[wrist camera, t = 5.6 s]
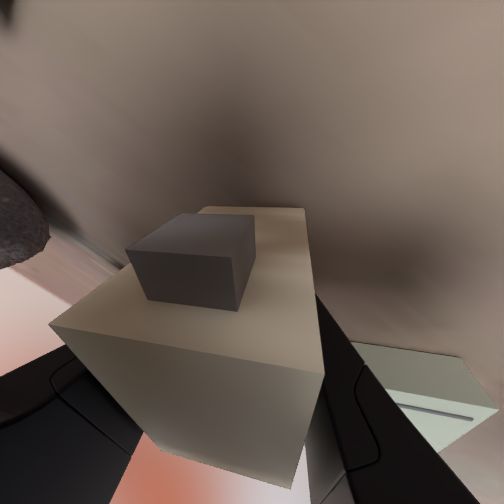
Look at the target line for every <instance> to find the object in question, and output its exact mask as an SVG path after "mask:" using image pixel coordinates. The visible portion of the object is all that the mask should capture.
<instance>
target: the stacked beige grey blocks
mask: <svg viewBox="0 0 504 504" xmlns="http://www.w3.org/2000/svg"><path fill="white" fill-rule="evenodd" d="M125 250H126V253H127V255H128V257H129V260H130V262H131V263H129V264H128V265H127V266H125V267H124V268H123V269H121V270H120V271H119V272H117V273H116V274H115V275H113V276H112V277H111V278H109V279H108V280H107V281H105V282H104V283H102V284H101V285H100V286H98V287H97V288H96V289H94V290H93V291H92V292H90V293H89V294H88V295H86V296H85V297H84V298H82V299H81V300H80V301H78V302H77V303H76V304H74V305H73V306H72V307H70V308H69V309H68V310H67V311H65V312H64V313H62V314H61V315H60V316H58V317H57V318H56V319H54V320H53V321H52V322H50V323H49V324H48V325H49V326H50V327H51V328H52V329H53V330H54V332H55V333H56V334H57V335H58V336H59V337H60V338H61V339H62V340H63V342H64V343H65V344H66V345H67V346H68V347H69V348H70V349H71V351H72V352H73V353H74V354H75V355H76V356H77V357H78V358H79V360H80V361H81V362H82V363H83V364H84V365H85V366H86V367H87V368H88V370H89V371H90V372H91V373H92V374H93V375H94V376H95V377H96V379H97V380H98V381H99V382H100V383H101V384H102V385H103V386H104V387H105V389H106V390H107V391H108V392H109V393H110V394H111V395H112V396H113V398H114V399H115V400H116V401H117V402H118V403H119V404H120V405H121V407H122V408H123V409H124V410H125V411H126V412H127V413H128V414H129V415H130V417H131V418H132V419H133V420H134V421H135V422H136V423H137V424H138V426H139V427H140V428H141V429H142V430H143V431H144V432H145V433H146V434H147V436H148V437H149V438H150V439H151V440H152V441H153V442H154V443H155V445H156V446H157V447H158V448H159V449H160V450H161V451H163V452H167V453H170V454H174V455H177V456H180V457H183V458H187V459H190V460H194V461H197V462H200V463H203V464H207V465H210V466H214V467H217V468H220V469H223V470H227V471H230V472H234V473H237V474H240V475H243V476H247V477H250V478H253V479H257V480H260V481H263V482H267V483H270V484H273V485H277V486H280V487H283V488H287V489H291V486H292V482H293V479H294V476H295V472H296V469H297V466H298V462H299V459H300V456H301V452H302V449H303V445H304V442H305V439H306V435H307V432H308V429H309V425H310V422H311V419H312V415H313V412H314V408H315V405H316V402H317V398H318V395H319V392H320V388H321V385H322V381H323V378H324V375H325V372H324V364H323V356H322V348H321V339H320V331H319V323H318V315H317V307H316V299H315V291H314V283H313V275H312V267H311V259H310V250H309V242H308V234H307V226H306V218H305V210H304V208H274V207H226V206H206V207H204V208H203V209H202V210H200V211H199V212H198V213H181V214H179V215H178V216H176V217H175V218H173V219H172V220H170V221H168V222H167V223H165V224H164V225H162V226H161V227H159V228H158V229H156V230H154V231H153V232H151V233H150V234H148V235H147V236H145V237H144V238H142V239H141V240H139V241H137V242H136V243H134V244H133V245H131V246H130V247H128V248H127V249H125Z"/></svg>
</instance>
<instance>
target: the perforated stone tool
mask: <svg viewBox="0 0 504 504" xmlns="http://www.w3.org/2000/svg"><path fill="white" fill-rule="evenodd" d="M49 235H50V234H49V223H48V221H47V219H46V218H45V216H44V215H43V214H42V212H41V211H40V209H39V207H38V206H37V204H36V203H35V202H34V201H33V200H32V199H31V198H30V197H29V195H28V194H27V193H26V192H25V191H24V190H23V189H22V188H21V187H20V186H19V185H18V184H17V183H15V182H14V181H13V180H12V179H11V178H10V177H8V175H6V174H5V173H3V172H2V171H1V170H0V269H3V268H6V267H10V266H12V265H15V264H16V263H22V262H23V261H25V260H28V259H29V258H31V257H33V256H34V255H36V254H37V253H39V252H42V251H43V250H44V248H45V246H46V243H47V242H48V240H49V239H50V238H51V236H49Z"/></svg>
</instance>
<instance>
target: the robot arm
mask: <svg viewBox="0 0 504 504" xmlns="http://www.w3.org/2000/svg"><path fill="white" fill-rule="evenodd" d="M315 299H316V307H317V315H318V323H319V331H320V339H321V348H322V356H323V364H324V372H325V375H324V378H323V381H322V385H321V388H320V392H319V395H318V398H317V402H316V405H315V408H314V412H313V415H312V419H311V422H310V425H309V429H308V432H307V435H306V439H305V448H306V458H307V468H308V479H309V489H310V500H311V504H480V503H479V502H478V500H477V499H476V498H475V497H474V496H473V495H472V493H471V492H470V491H469V490H468V489H467V487H466V486H465V485H464V484H463V483H462V482H461V480H460V479H459V478H458V477H457V476H456V474H455V473H454V472H453V471H452V470H451V469H450V467H449V466H448V465H447V464H446V463H445V461H444V460H443V459H442V458H441V457H440V456H439V454H438V453H437V452H436V451H435V450H434V448H433V447H432V446H431V445H430V444H429V442H428V441H427V440H426V439H425V438H424V437H423V435H422V434H421V433H420V432H419V431H418V429H417V428H416V427H415V426H414V425H413V423H412V422H411V421H410V420H409V419H408V417H407V416H406V415H405V414H404V412H403V411H402V410H401V409H400V408H399V406H398V405H397V404H396V403H395V401H394V400H393V399H392V398H391V396H390V395H389V394H388V392H387V391H386V390H385V388H384V387H383V386H382V384H381V383H380V382H379V380H378V379H377V378H376V376H375V375H374V374H373V372H372V371H371V369H370V368H369V367H368V365H366V364H365V361H364V360H363V359H362V357H361V356H360V354H359V353H358V352H357V350H356V349H355V347H354V346H353V345H352V343H351V342H350V341H349V339H348V338H347V336H346V335H345V334H344V332H343V331H342V329H341V328H340V327H339V325H338V324H337V323H336V321H335V320H334V318H333V317H332V316H331V314H330V313H329V311H328V310H327V309H326V307H325V306H324V305H323V303H322V302H321V300H320V299H319V298H318V296H317V295H316V293H315ZM143 432H144V431H143V430H142V429H141V428H140V427H139V426H138V424H137V423H136V422H135V421H134V420H133V419H132V418H131V417H130V415H129V414H128V413H127V412H126V411H125V410H124V409H123V408H122V407H121V405H120V404H119V403H118V402H117V401H116V400H115V399H114V398H113V396H112V395H111V394H110V393H109V392H108V391H107V390H106V389H105V387H104V386H103V385H102V384H101V383H100V382H99V381H98V380H97V379H96V377H95V376H94V375H93V374H92V373H91V372H90V371H89V370H88V368H87V367H86V366H85V365H84V364H83V363H82V362H81V361H80V360H79V358H78V357H77V356H76V355H75V354H74V353H73V352H72V351H71V349H70V348H69V347H68V346H67V345H66V344H65V345H63V346H61V347H59V348H57V349H55V350H53V351H51V352H49V353H47V354H45V355H43V356H41V357H39V358H37V359H35V360H33V361H31V362H29V363H27V364H25V365H23V366H21V367H19V368H17V369H15V370H13V371H11V372H9V373H7V374H5V375H3V376H1V377H0V504H109V503H110V501H111V499H112V497H113V495H114V493H115V491H116V489H117V486H118V484H119V482H120V480H121V478H122V476H123V474H124V472H125V470H126V468H127V466H128V464H129V462H130V459H131V456H132V455H133V453H134V451H135V449H136V446H137V445H138V443H139V440H140V438H141V436H142V434H143Z"/></svg>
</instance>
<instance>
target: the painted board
mask: <svg viewBox="0 0 504 504" xmlns="http://www.w3.org/2000/svg"><path fill="white" fill-rule="evenodd" d="M351 343H352V345H353V346H354V347H355V349H356V350H357V352H358V353H359V354H360V356H361V357H362V359H363V360H364V361H365V364H366V365H368V367H369V368H370V369H371V371H372V372H373V374H374V375H375V376H376V378H377V379H378V380H379V382H380V383H381V384H382V386H383V387H384V388H385V390H386V391H387V392H388V394H389V395H390V396H391V398H392V399H393V400H394V401H395V403H396V404H397V405H398V406H399V408H400V409H401V410H402V411H403V412H404V414H405V415H406V416H407V417H408V419H409V420H410V421H411V422H412V423H413V425H414V426H415V427H416V428H417V429H418V431H419V432H420V433H421V434H422V435H423V437H424V438H425V439H426V440H427V441H428V442H429V444H430V445H431V446H432V447H433V448H434V450H435V451H436V452H437V453H438V452H439V451H441V450H442V449H444V448H445V447H447V446H448V445H449V444H451V443H452V442H454V441H455V440H457V439H458V438H460V437H461V436H462V435H464V434H465V433H467V432H468V431H470V430H471V429H473V428H474V427H476V426H477V425H478V424H480V423H481V422H483V421H484V420H486V419H487V418H489V417H490V416H491V415H493V414H494V413H496V412H497V411H499V408H498V407H497V406H496V404H495V403H494V402H493V400H492V399H491V398H490V396H489V395H488V394H487V392H486V391H485V390H484V388H483V387H482V386H481V384H480V383H479V382H478V380H477V379H476V378H475V376H474V375H473V374H472V372H471V371H470V370H469V368H468V367H467V366H466V365H465V363H464V362H463V361H462V359H461V358H458V357H452V356H445V355H438V354H431V353H424V352H417V351H411V350H404V349H397V348H390V347H383V346H376V345H370V344H363V343H356V342H351Z"/></svg>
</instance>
